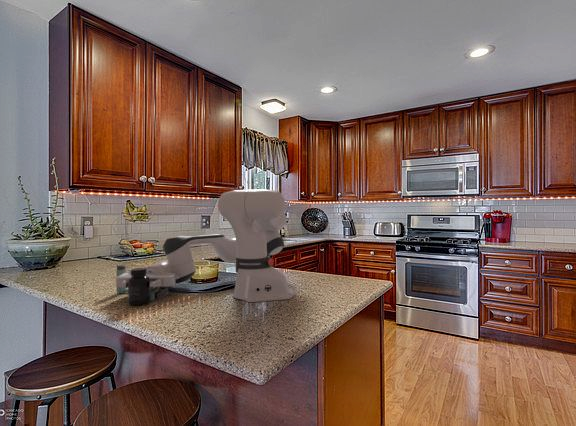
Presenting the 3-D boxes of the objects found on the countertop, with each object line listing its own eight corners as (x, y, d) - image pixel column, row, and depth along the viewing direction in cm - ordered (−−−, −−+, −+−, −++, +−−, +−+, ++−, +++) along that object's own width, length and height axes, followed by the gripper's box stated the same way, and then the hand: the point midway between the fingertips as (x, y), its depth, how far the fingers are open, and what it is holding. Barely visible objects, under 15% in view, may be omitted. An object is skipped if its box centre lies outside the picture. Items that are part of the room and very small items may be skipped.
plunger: (166, 290, 127) (165, 264, 127) (153, 299, 114) (152, 271, 114) (119, 291, 126) (119, 265, 126) (102, 300, 114) (101, 272, 113)
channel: (168, 292, 124) (168, 287, 124) (160, 298, 116) (160, 293, 116) (140, 293, 124) (140, 288, 124) (131, 299, 116) (131, 293, 116)
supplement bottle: (154, 302, 112) (153, 268, 112) (136, 308, 106) (135, 271, 106) (142, 299, 115) (141, 266, 115) (124, 305, 110) (123, 269, 109)
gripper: (181, 284, 124) (168, 294, 110) (127, 285, 123) (107, 295, 109) (180, 267, 124) (168, 275, 110) (126, 268, 123) (107, 276, 109)
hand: (137, 285), depth 110 cm, fingers open, 8 cm apart
